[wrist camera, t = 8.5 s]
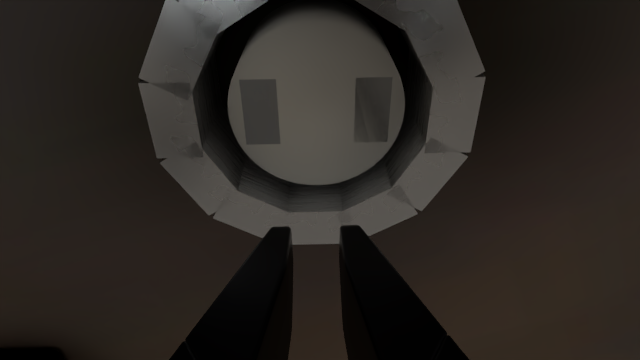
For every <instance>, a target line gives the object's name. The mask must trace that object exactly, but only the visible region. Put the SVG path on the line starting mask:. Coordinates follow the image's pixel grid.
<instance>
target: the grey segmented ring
mask: <svg viewBox="0 0 640 360" xmlns="http://www.w3.org/2000/svg"><path fill="white" fill-rule="evenodd" d="M267 1H269V0H165V3H164V6H163V8H162V11H161V14H160V17H159V20H158V23H157V26H156V28H155V31H154V34H153V37H152V40H151V43H150V46H149V48H148V51H147V54H146V57H145V60H144V63H143V66H142V68H141V71H140V74H139V77H138V78H140V79H141V81H140V82H139V83H138V85H139V89H140V93H141V97H142V101H143V105H144V109H145V113H146V117H147V121H148V125H149V129H150V133H151V137H152V141H153V145H154V149H155V153H156V157H157V158H162V159H161V161H160V164H161V165H162V166H163V167H164V168H165V169H166V170H167V171H168V173H169V174H170V175H171V176H172V177H173V178H174V179H175V180H176V181H177V182H178V183H179V184H180V185H181V186H182V187H183V189H184V190H185V191H186V192H187V193H188V194H189V195H190V196H191V197H192V198H193V199H194V200H195V201H196V202H197V203H198V205H199V206H200V207H201V208H202V209H203V210H204V211H205V212H206V213H207V214H208V215H211V214H213V213H214V216H213V219H216V220H218V221H221V222H223V223H226V224H228V225H231V226H233V227H236V228H238V229H241V230H243V231H246V232H248V233H251V234H253V235H256V236H258V237H261V238H263V237H264V236H265V235H266V233H267V232H268V231H269V229H270V228H272V227H280V226H288V227H290V228H291V233H292V245H299V244H339V241H340V227H341V226H342V225H359V226H360V227H361V228H362V229H363V230H364V231H365V233H366V234H367V235H368V236H370V235H372V234H375V233H377V232H379V231H381V230H384V229H386V228H388V227H390V226H392V225H395V224H397V223H399V222H401V221H404V220H406V219H408V218H410V217H412V216H415V215H417V214H418V213H417V210H416V209H418V210H420V211H422V210H423V209H424V208H425V207H426V206H427V204H428V203H429V202H430V201H431V200H432V199H433V197H434V196H435V195H436V194H437V193H438V192H439V190H440V189H441V188H442V187H443V186H444V185H445V183H446V182H447V181H448V180H449V179H450V178H451V176H452V175H453V174H454V173H455V172H456V171H457V169H458V168H459V167H460V166H461V165H462V164H463V162H464V161H465V160H466V159H467V158H468V156H467V154H466V152H471V148H472V143H473V138H474V133H475V128H476V123H477V118H478V113H479V108H480V103H481V98H482V93H483V88H484V83H485V78H486V77H485V76H484V75H483V72H485V69H484V67H483V64H482V62H481V59H480V57H479V54H478V52H477V49H476V47H475V44H474V42H473V39H472V37H471V34H470V32H469V29H468V26H467V24H466V21H465V19H464V16H463V14H462V11H461V9H460V6H459V4H458V1H457V0H355V1H357V2H358V3H360V4H362V5H363V6H365V7H367V8H368V9H370V10H372V11H373V12H375V13H377V14H378V15H380V16H381V17H383V18H385V19H386V20H388V21H390V22H391V23H393V24H395V25H396V26H398V27H399V29H400V31H401V33H402V35H403V37H404V39H405V41H406V43H407V46H408V48H409V59H408V69H407V79H406V89H405V111H404V117H403V122H402V125H401V128H400V131H399V133H398V135H397V138H396V140H395V141H394V143H393V145H392V146H391V148H390V149H389V150H388V152H387V153H386V154H385V155H384V156H383V158H381V159H380V160H379V161H378V162H377V163H376V164H375V165H374V166H372V167H371V168H369V169H368V170H367V171H365V172H363V173H361V174H360V175H358V176H356V177H353V178H351V179H349V180H345V181H342V182H339V183H333V184H328V185H305V184H298V183H294V182H290V181H286V180H284V179H281V178H278V177H276V176H274V175H272V174H270V173H268V172H267V171H265V170H264V169H262V168H261V167H260V166H258V165H257V164H256V163H255V162H254V161H253V160H251V158H250V157H249V156H248V155H247V154H246V153H245V152H244V150H243V149H242V147H241V146H240V145H239V143H238V141H237V139H236V137H235V135H234V133H233V130H232V127H231V125H230V120H229V115H228V109H227V108H226V106H225V105H224V104H223V103H222V99H221V92H220V85H219V78H218V71H217V64H216V57H215V52H216V49H217V47H218V45H219V42H220V40H221V38H222V35H223V33H224V31H225V29H226V28H227V27H229V26H230V25H232V24H233V23H235V22H237V21H238V20H240V19H241V18H243V17H244V16H246V15H247V14H249V13H250V12H252V11H253V10H255V9H256V8H258V7H259V6H261V5H262V4H264V3H265V2H267Z"/></svg>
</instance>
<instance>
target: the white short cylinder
mask: <svg viewBox="0 0 640 360" xmlns="http://www.w3.org/2000/svg"><path fill="white" fill-rule="evenodd" d="M404 111H405V97H404V89H403V85H402V81H401V78H400V75H399V73H398V71H397V68H396V66H395V64H394V62H393V60H392V58H391V56H390V53H389V51H388V49H387V47H386V45H385V43H384V41H383V39H382V37H381V35H380V34H379V32H378V30H377V29H376V28H375V26H374V25H373V24H372V23H371V22H370V21H369V20H368V19H367V18H366V17H365V16H364V15H363V14H361V13H360V12H359V11H357V10H356V9H354V8H352V7H350V6H348V5H346V4H344V3H341V2H338V1H335V0H296V1H292V2H290V3H287V4H285V5H282V6H281V7H279V8H277V9H275V10H273V11H272V12H271V13H269V14H268V15H267V16H266V17H265V18H264V19H263V20H262V21H261V22H260V23H259V24H258V25H257V26H256V27H255V29H254V30H253V31H252V33H251V35H250V37H249V39H248V40H247V43H246V45H245V48H244V50H243V52H242V55H241V57H240V60H239V62H238V64H237V67H236V69H235V72H234V74H233V77H232V79H231V83H230V87H229V91H228V115H229V120H230V125H231V127H232V130H233V133H234V135H235V137H236V139H237V141H238V143H239V145H240V146H241V147H242V149H243V150H244V152H245V153H246V154H247V155H248V156H249V157H250V158H251V160H253V161H254V162H255V163H256V164H257V165H258V166H260V167H261V168H262V169H264V170H265V171H267V172H268V173H270V174H272V175H274V176H276V177H278V178H281V179H284V180H286V181H290V182H294V183H298V184H305V185H328V184H333V183H339V182H342V181H345V180H349V179H351V178H353V177H356V176H358V175H360V174H361V173H363V172H365V171H367V170H368V169H369V168H371V167H372V166H374V165H375V164H376V163H377V162H378V161H379V160H380V159H381V158H383V156H384V155H385V154H386V153H387V152H388V150H389V149H390V148H391V146H392V145H393V143H394V141H395V140H396V138H397V135H398V133H399V131H400V128H401V125H402V122H403V117H404Z"/></svg>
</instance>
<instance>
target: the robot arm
mask: <svg viewBox="0 0 640 360" xmlns="http://www.w3.org/2000/svg"><path fill="white" fill-rule="evenodd" d="M339 264H340V284H341V304H342V321H343V331H344V338H345V344H346V349H347V355H348V360H469V359H468V357H467V356H466V355H465V354H464V353H463V352H462V350H461V349H460V348H459V347H458V346H457V344H456V343H455V342H454V341H453V339H452V338H451V337H450V336H449V335H447V332H446V331H445V330H444V328H443V327H442V326H441V325H440V324H439V322H438V321H437V320H436V319H435V317H434V316H433V315H432V314H431V313H430V311H429V310H428V309H427V308H426V306H425V305H424V304H423V303H422V301H421V300H420V299H419V298H418V297H417V295H416V294H415V293H414V292H413V290H412V289H411V288H410V287H409V285H408V284H407V283H406V282H405V281H404V279H403V278H402V277H401V276H400V274H399V273H398V272H397V271H396V270H395V268H394V267H393V266H392V265H391V263H390V262H389V261H388V260H387V258H386V257H385V256H384V255H383V254H382V252H381V251H380V250H379V249H378V247H377V246H376V245H375V244H374V243H373V241H372V240H371V239H370V238H369V236H368V235H367V234H366V233H365V231H364V230H363V229H362V228H361V227H360V226H359V225H342V226H341V227H340V241H339ZM292 303H293V248H292V233H291V228H290V227H288V226H280V227H272V228H270V229H269V231H268V232H267V233H266V235H265V236H264V237H263V239H262V240H261V241H260V242H259V244H258V245H257V246H256V248H255V249H254V250H253V252H252V253H251V254H250V255H249V257H248V258H247V259H246V261H245V262H244V263H243V265H242V266H241V267H240V268H239V270H238V271H237V272H236V274H235V275H234V276H233V278H232V279H231V280H230V281H229V283H228V284H227V285H226V287H225V288H224V289H223V291H222V292H221V293H220V295H219V296H218V297H217V298H216V300H215V301H214V302H213V304H212V305H211V306H210V308H209V309H208V310H207V311H206V313H205V314H204V315H203V317H202V318H201V319H200V321H199V322H198V323H197V324H196V326H195V327H194V328H193V330H192V331H191V332H190V334H189V335H188V336H187V337H186V339H185V340H186V342H185V341H184V342H182V344H181V345H180V346H179V347H178V349H177V350H176V351H175V353H174V354H173V355H172V357H171V358H170V359H169V360H288V354H289V347H290V340H291V331H292ZM0 360H64V358H63V356H62V354H61V353H60V352H59V351H57V350H53V349H38V350H0Z"/></svg>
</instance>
